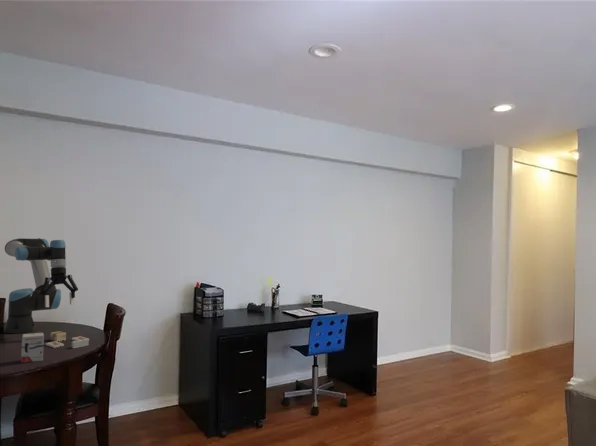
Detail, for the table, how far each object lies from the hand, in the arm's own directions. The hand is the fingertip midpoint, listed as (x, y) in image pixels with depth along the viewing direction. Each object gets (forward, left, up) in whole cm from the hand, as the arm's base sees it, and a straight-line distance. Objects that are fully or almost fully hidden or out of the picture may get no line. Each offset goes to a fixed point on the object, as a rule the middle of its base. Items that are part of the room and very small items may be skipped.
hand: (59, 305), depth 249 cm
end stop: (+28, -4, -17) cm, 32 cm away
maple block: (+8, -4, -17) cm, 19 cm away
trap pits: (+17, -4, -17) cm, 24 cm away
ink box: (+33, -31, -17) cm, 48 cm away
